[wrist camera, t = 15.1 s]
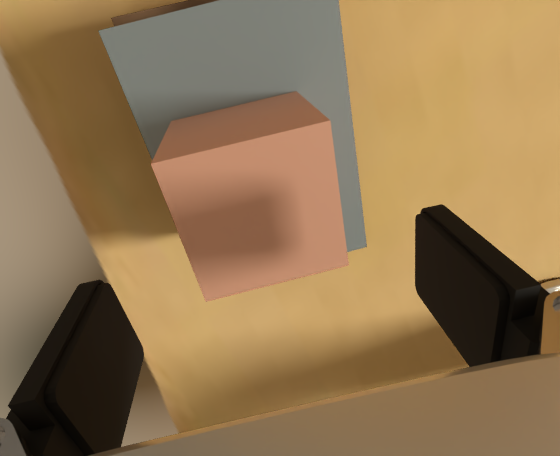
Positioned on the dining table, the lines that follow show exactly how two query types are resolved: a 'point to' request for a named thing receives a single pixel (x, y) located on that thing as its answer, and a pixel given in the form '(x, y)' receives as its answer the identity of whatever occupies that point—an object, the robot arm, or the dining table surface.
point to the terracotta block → (254, 194)
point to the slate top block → (241, 72)
